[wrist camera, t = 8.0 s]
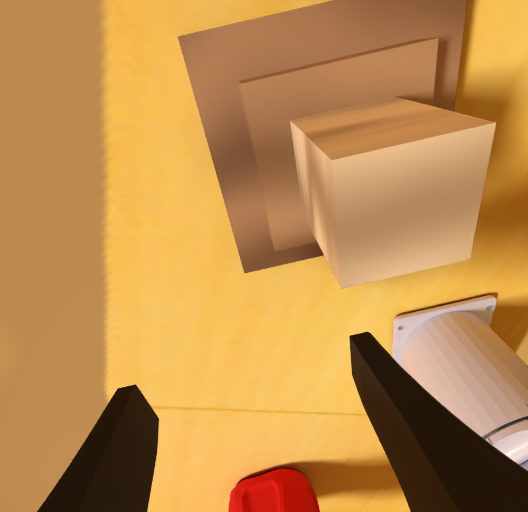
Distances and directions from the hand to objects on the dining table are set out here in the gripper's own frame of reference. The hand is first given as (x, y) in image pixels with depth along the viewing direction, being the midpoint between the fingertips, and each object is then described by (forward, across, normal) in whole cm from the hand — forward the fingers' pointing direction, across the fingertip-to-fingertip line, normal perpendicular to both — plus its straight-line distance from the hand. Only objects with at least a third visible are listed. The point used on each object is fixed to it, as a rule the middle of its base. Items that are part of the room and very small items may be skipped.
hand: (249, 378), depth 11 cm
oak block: (+7, -6, -4) cm, 10 cm away
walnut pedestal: (+10, -6, -4) cm, 13 cm away
